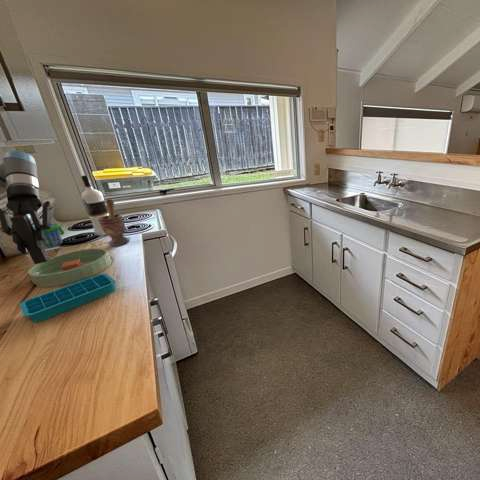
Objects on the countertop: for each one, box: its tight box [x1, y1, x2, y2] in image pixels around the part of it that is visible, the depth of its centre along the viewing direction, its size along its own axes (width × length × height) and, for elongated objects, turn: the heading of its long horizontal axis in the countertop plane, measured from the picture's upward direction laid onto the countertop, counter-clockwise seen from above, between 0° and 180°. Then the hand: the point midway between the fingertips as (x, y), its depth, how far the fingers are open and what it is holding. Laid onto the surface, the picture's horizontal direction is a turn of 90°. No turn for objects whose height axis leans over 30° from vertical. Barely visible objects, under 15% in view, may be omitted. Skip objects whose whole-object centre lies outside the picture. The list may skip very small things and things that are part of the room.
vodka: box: [80, 175, 109, 237], centre depth 130 cm, size 9×9×30 cm
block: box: [61, 259, 83, 271], centre depth 92 cm, size 4×4×4 cm
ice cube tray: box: [19, 272, 117, 323], centre depth 77 cm, size 12×20×3 cm, turn 143°
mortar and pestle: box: [98, 198, 130, 247], centre depth 118 cm, size 12×9×20 cm
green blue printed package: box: [33, 222, 65, 249], centre depth 119 cm, size 16×10×10 cm
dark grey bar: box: [9, 214, 51, 265], centre depth 84 cm, size 3×3×16 cm
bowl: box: [27, 247, 113, 288], centre depth 94 cm, size 22×22×5 cm
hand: (30, 249), depth 82 cm, fingers closed on dark grey bar, 3 cm apart
